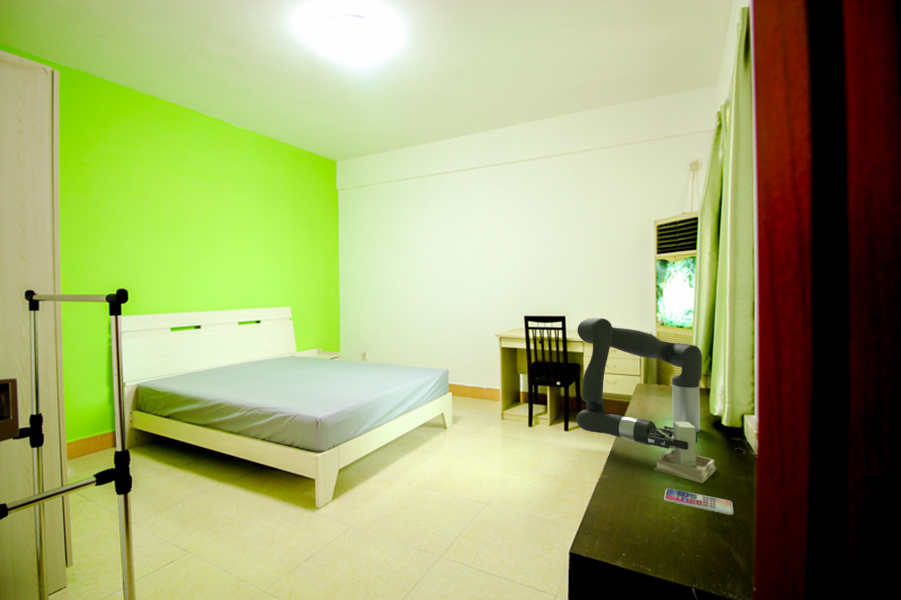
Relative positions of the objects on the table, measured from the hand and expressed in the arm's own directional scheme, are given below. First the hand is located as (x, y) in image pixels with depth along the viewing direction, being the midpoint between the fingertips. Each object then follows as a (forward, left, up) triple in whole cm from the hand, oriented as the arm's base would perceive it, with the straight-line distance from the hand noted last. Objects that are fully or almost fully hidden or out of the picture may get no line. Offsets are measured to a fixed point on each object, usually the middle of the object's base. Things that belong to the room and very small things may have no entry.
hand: (692, 442), depth 125 cm
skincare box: (0, -2, -7) cm, 8 cm away
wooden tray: (0, -2, -9) cm, 9 cm away
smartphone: (+19, +7, -9) cm, 22 cm away
